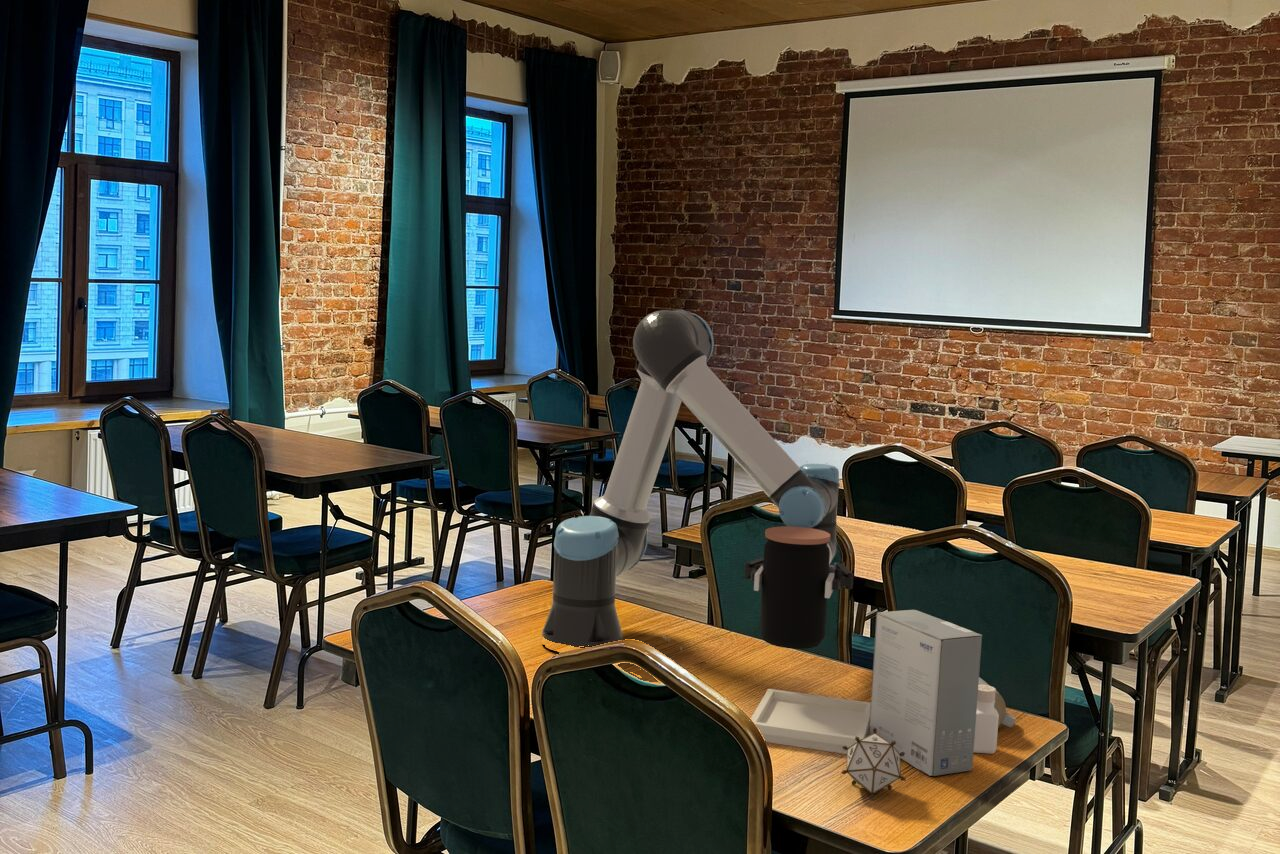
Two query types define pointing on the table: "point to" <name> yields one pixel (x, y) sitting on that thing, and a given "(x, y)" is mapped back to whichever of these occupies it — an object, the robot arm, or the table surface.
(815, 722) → the tray
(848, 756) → the game die
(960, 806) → the table surface
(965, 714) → the hard drive box
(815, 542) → the coffee jar
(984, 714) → the pepper shaker
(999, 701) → the ceramic mug
